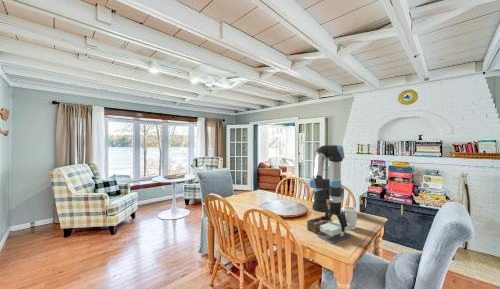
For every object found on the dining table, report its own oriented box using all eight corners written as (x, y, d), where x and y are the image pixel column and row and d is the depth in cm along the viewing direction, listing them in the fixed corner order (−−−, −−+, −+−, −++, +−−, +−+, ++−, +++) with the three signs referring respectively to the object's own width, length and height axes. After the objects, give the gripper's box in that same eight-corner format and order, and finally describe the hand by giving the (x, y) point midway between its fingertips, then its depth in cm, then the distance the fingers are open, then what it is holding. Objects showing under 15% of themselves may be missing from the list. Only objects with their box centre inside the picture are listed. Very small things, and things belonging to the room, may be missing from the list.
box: (323, 224, 165) (323, 215, 165) (331, 228, 158) (331, 219, 158) (307, 229, 156) (307, 220, 156) (315, 233, 149) (315, 224, 149)
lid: (338, 224, 154) (338, 219, 154) (350, 229, 145) (350, 224, 145) (318, 231, 143) (318, 226, 143) (330, 237, 134) (330, 231, 134)
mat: (337, 229, 156) (337, 228, 156) (353, 236, 145) (353, 235, 145) (317, 236, 145) (317, 235, 145) (332, 244, 134) (332, 244, 134)
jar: (344, 223, 166) (344, 205, 165) (358, 227, 159) (358, 207, 159) (340, 228, 157) (340, 209, 157) (354, 232, 151) (355, 211, 150)
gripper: (318, 198, 152) (319, 227, 152) (346, 206, 132) (346, 240, 133) (325, 196, 156) (325, 225, 156) (353, 204, 136) (353, 237, 137)
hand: (335, 232), depth 145 cm, fingers closed on lid, 10 cm apart
